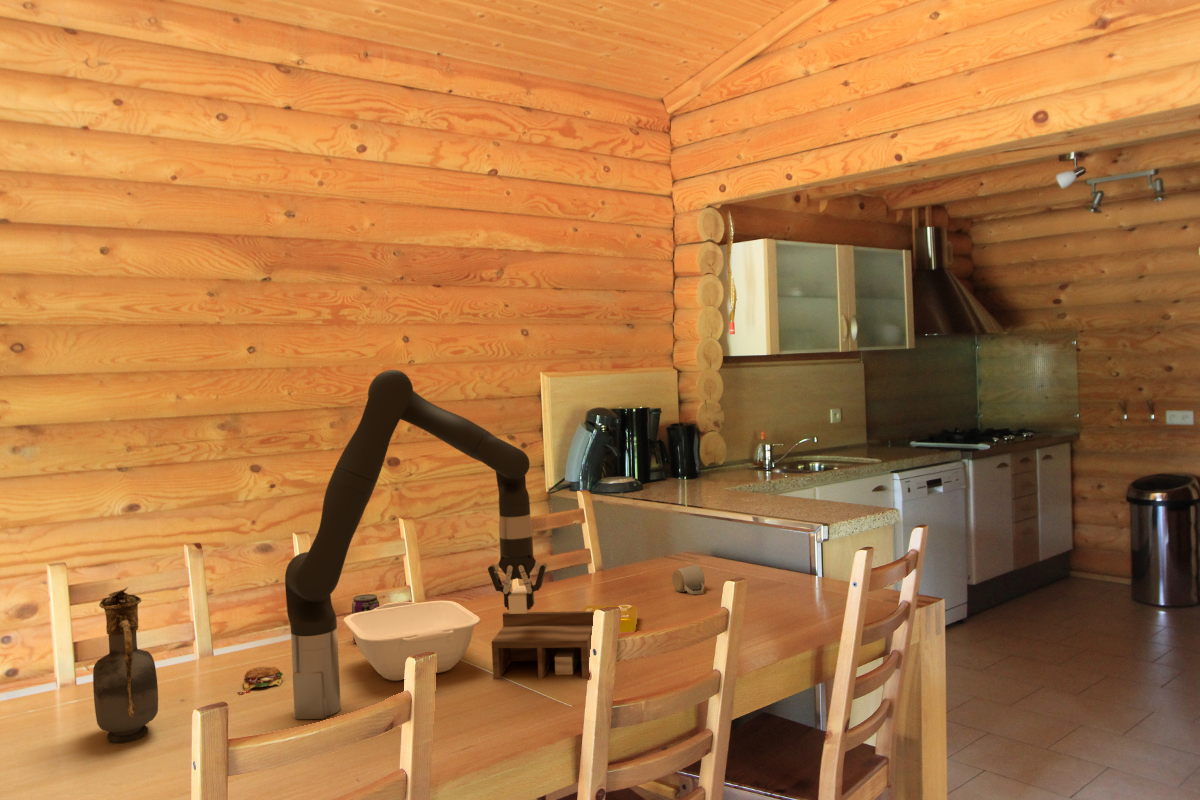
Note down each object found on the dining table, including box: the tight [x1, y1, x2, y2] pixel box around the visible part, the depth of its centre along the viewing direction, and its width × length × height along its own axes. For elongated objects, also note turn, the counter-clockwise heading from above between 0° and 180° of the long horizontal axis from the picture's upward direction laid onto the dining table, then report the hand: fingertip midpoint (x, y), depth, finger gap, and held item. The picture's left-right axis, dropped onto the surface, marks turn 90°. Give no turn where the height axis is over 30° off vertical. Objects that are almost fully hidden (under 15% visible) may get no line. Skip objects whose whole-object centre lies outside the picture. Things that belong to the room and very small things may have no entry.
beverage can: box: [351, 593, 380, 643], centre depth 238 cm, size 7×7×12 cm
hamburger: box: [236, 666, 284, 696], centre depth 206 cm, size 14×14×6 cm
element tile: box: [582, 604, 639, 632], centre depth 244 cm, size 15×15×5 cm
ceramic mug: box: [671, 564, 705, 596], centre depth 279 cm, size 11×8×8 cm
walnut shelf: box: [491, 610, 594, 680], centre depth 210 cm, size 14×22×12 cm, turn 84°
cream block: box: [508, 585, 536, 614], centre depth 208 cm, size 10×4×4 cm, turn 173°
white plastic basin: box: [343, 600, 481, 682], centre depth 213 cm, size 34×28×13 cm
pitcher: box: [92, 586, 159, 744], centre depth 177 cm, size 11×19×30 cm, turn 33°
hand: (519, 608), depth 205 cm, fingers closed on cream block, 4 cm apart
